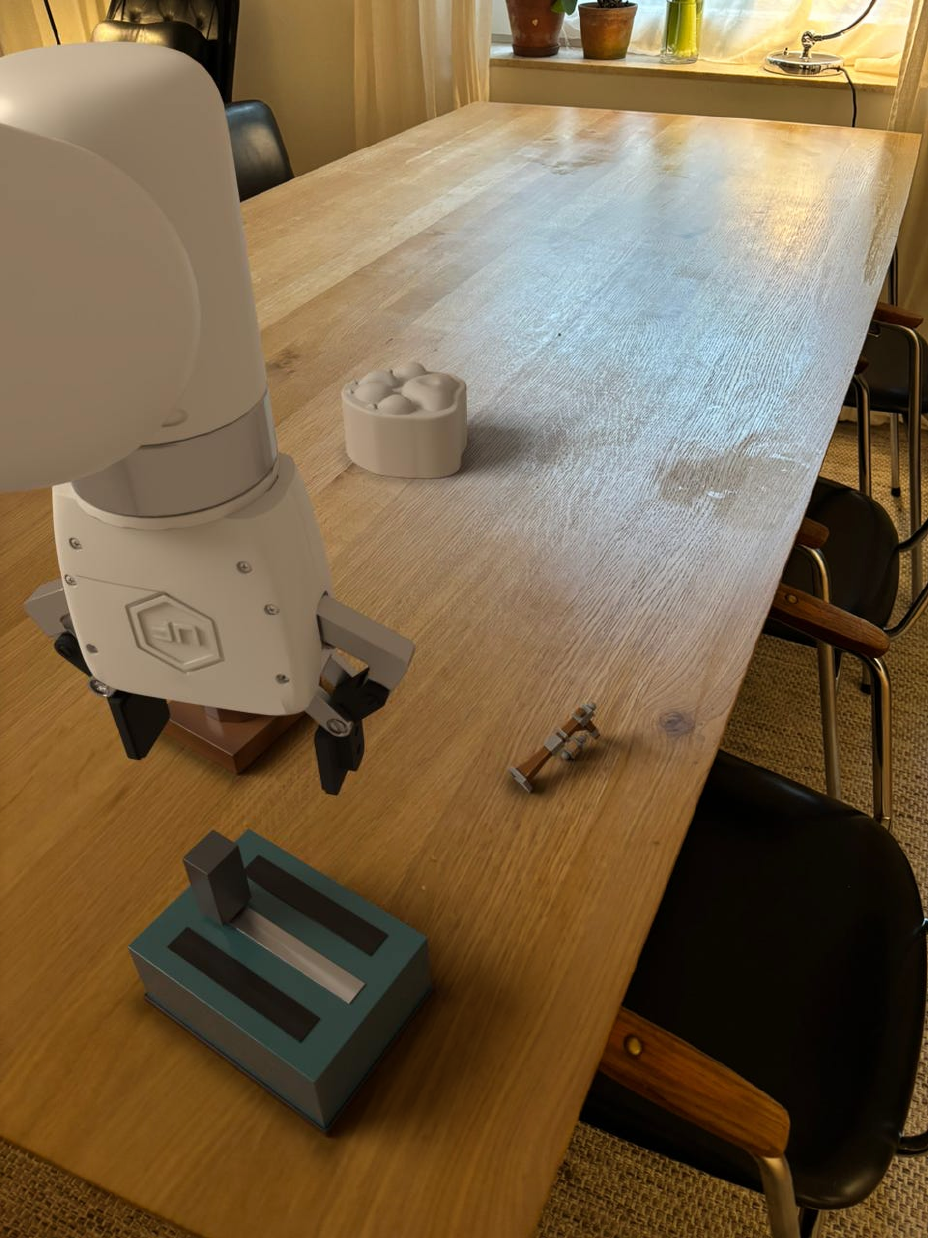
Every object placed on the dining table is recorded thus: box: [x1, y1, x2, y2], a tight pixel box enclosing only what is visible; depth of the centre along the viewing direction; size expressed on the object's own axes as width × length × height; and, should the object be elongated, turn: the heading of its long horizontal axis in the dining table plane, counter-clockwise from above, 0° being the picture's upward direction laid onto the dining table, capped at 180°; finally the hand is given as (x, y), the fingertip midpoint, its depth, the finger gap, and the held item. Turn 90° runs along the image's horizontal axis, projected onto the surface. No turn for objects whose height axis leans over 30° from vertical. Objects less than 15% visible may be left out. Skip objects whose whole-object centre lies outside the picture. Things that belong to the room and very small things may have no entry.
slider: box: [181, 828, 252, 927], centre depth 56 cm, size 2×2×5 cm
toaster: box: [127, 828, 437, 1138], centre depth 59 cm, size 10×14×6 cm
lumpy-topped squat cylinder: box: [340, 361, 468, 480], centre depth 106 cm, size 10×13×9 cm
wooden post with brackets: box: [506, 701, 601, 793], centre depth 74 cm, size 2×8×4 cm, turn 127°
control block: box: [162, 675, 324, 776], centre depth 77 cm, size 10×8×4 cm
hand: (244, 754), depth 47 cm, fingers open, 9 cm apart
